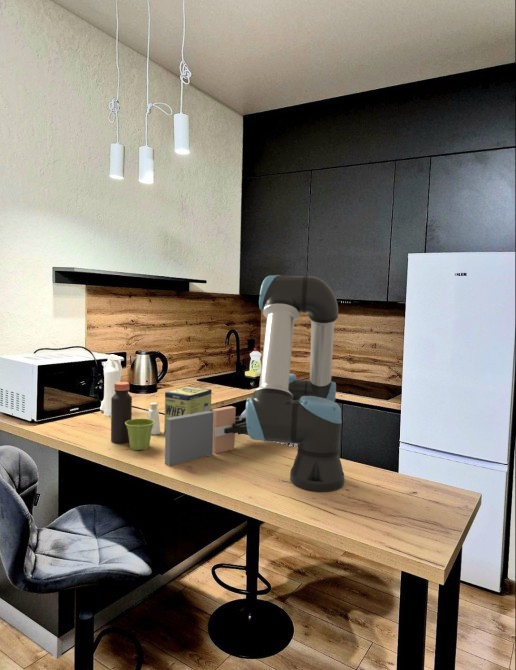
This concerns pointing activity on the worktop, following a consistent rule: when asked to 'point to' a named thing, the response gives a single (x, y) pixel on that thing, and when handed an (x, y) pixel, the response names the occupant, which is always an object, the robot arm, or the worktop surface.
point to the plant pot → (139, 433)
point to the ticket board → (189, 437)
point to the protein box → (186, 401)
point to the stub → (222, 419)
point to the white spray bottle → (110, 381)
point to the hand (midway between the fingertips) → (212, 431)
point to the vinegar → (120, 412)
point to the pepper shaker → (154, 418)
